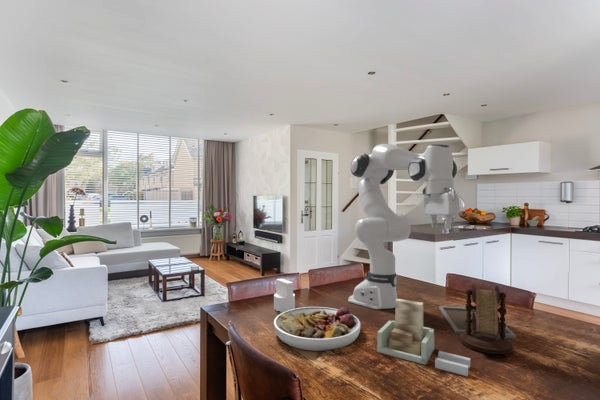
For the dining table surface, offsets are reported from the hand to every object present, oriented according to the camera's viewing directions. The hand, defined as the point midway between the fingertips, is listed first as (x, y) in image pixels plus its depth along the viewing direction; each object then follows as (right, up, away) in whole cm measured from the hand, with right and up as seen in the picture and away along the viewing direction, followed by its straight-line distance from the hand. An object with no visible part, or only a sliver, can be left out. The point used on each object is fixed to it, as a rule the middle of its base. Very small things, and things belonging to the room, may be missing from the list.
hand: (440, 228), depth 115 cm
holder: (-8, -37, -25) cm, 46 cm away
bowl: (-44, -38, -1) cm, 58 cm away
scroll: (+9, -37, -11) cm, 40 cm away
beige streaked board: (-16, -36, -13) cm, 41 cm away
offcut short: (-18, -33, -15) cm, 41 cm away
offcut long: (-18, -36, -16) cm, 43 cm away
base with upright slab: (-57, -37, +25) cm, 72 cm away
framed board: (+17, -38, +12) cm, 43 cm away
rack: (-17, -37, -15) cm, 44 cm away
